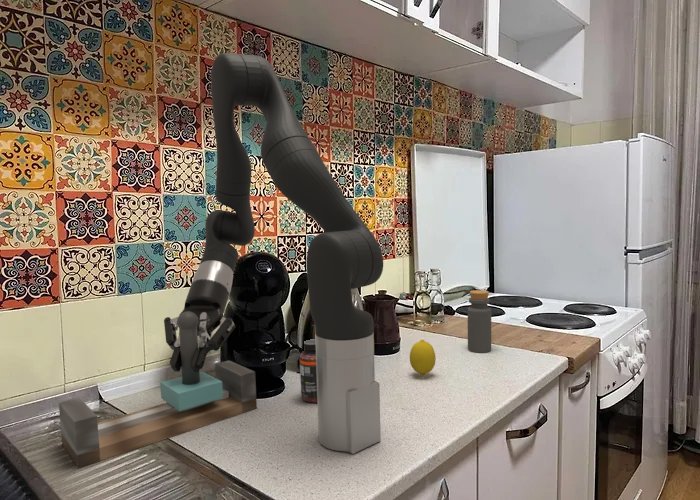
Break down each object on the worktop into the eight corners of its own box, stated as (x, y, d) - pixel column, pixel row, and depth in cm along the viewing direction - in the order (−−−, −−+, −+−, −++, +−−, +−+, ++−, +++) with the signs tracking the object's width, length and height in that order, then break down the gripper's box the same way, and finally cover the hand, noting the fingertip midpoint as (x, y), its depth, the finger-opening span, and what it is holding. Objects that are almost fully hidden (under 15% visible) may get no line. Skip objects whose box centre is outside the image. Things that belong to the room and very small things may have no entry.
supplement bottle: (331, 391, 99) (329, 336, 98) (332, 403, 93) (330, 344, 92) (301, 392, 98) (299, 337, 97) (300, 404, 92) (298, 346, 91)
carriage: (203, 386, 93) (198, 305, 92) (222, 397, 87) (218, 311, 86) (161, 398, 88) (156, 312, 87) (179, 411, 82) (174, 318, 81)
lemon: (434, 371, 109) (434, 336, 108) (436, 380, 103) (436, 343, 103) (409, 371, 109) (409, 336, 109) (410, 380, 104) (409, 343, 103)
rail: (230, 394, 99) (228, 360, 98) (256, 408, 91) (255, 371, 91) (62, 445, 79) (58, 402, 78) (78, 468, 71) (74, 422, 71)
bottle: (463, 348, 126) (462, 291, 125) (481, 345, 128) (480, 288, 127) (477, 354, 121) (477, 294, 119) (496, 350, 123) (496, 292, 122)
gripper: (169, 278, 94) (137, 359, 83) (239, 277, 92) (216, 360, 81) (183, 299, 100) (156, 378, 89) (249, 299, 98) (229, 380, 87)
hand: (185, 369), depth 85 cm, fingers closed on carriage, 3 cm apart
